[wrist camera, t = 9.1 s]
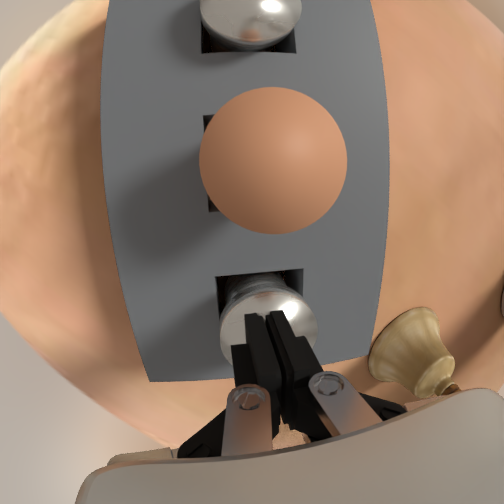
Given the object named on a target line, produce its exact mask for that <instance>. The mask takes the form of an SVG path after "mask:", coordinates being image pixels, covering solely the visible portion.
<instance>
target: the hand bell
mask: <svg viewBox="0 0 504 504" xmlns="http://www.w3.org/2000/svg"><path fill="white" fill-rule="evenodd" d="M439 331H440V326H439V320H438V317H437V315H436V314H435V312H434V311H433V310H431V309H429V308H426V307H419V308H414V309H411V310H409V311H407V312H405V313H403V314H401V315H400V316H398V317H397V318H396V319H394V320H393V321H392V322H391V323H390V324H389V325H388V326H387V327H386V328H385V329H384V330H383V331H382V333H381V334H380V336H379V337H378V338H377V340H376V341H375V343H374V345H373V348H372V350H371V353H370V357H369V362H368V365H369V371H370V373H371V375H372V376H373V377H374V378H376V379H378V380H380V381H384V382H393V381H395V382H398V383H400V384H402V385H403V386H405V387H406V388H407V389H408V390H410V391H411V392H412V393H413V394H414V395H415V396H416V397H418V398H426V397H429V396H431V395H433V394H436V395H437V396H442V395H449V394H452V393H455V392H458V391H461V390H460V389H459V387H458V385H456V384H455V383H454V382H453V380H452V379H451V378H450V377H451V375H452V373H453V371H454V367H455V361H454V358H453V356H452V355H451V354H450V353H449V352H448V350H447V349H446V347H445V346H444V344H443V343H442V341H441V339H440V336H439Z"/></svg>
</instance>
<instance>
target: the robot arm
mask: <svg viewBox="0 0 504 504" xmlns="http://www.w3.org/2000/svg"><path fill="white" fill-rule="evenodd" d="M502 314H503V317H504V290H503V296H502ZM244 320H245V334H246V344H236V345H230V346H231V355H232V363H233V371H234V379H235V386H236V388H234V389H233V390H232V391H231V392H230V393H229V395H228V398H227V406H226V409H225V410H223V411H222V412H221V413H220V414H219V415H218V416H216V417H215V418H214V419H213V420H212V421H210V422H209V423H208V424H207V425H206V426H204V427H203V428H202V429H201V430H199V431H198V432H197V433H196V434H194V435H193V436H192V437H191V438H189V439H188V440H187V441H186V442H184V443H183V444H182V445H181V446H180V447H179V448H177V449H172V450H171V449H170V447H168V448H163V449H157V450H150V451H144V452H135V453H127V454H120V455H116V456H114V457H113V458H111V459H110V461H109V462H108V464H107V466H105V467H102V468H100V469H97V470H95V471H94V472H92V473H91V474H89V475H88V476H87V478H86V479H85V480H84V482H83V484H82V485H81V487H80V490H79V492H78V495H77V498H76V502H75V504H504V398H503V397H502V396H500V395H499V394H498V393H496V392H495V391H493V390H491V389H487V388H473V389H466V390H462V391H458V392H455V393H452V394H449V395H442V396H437V397H433V398H429V399H424V400H419V401H414V402H408V403H405V404H404V406H401V405H399V404H397V403H394V402H390V401H386V400H383V399H379V398H376V397H372V396H369V395H366V394H362V393H359V392H357V391H356V390H355V388H354V387H353V386H352V385H351V384H350V382H349V381H348V380H347V379H346V378H345V377H344V376H343V375H341V374H339V373H337V372H332V371H323V369H322V367H321V365H320V363H319V361H318V359H317V357H316V356H315V354H314V352H313V350H312V348H311V346H310V344H309V342H308V340H307V338H306V337H305V336H298V337H296V336H295V334H294V332H293V330H292V328H291V326H290V324H289V322H288V319H287V317H286V315H285V313H284V311H283V310H276V311H270V315H266V316H265V320H266V325H265V322H264V319H263V316H258V314H257V313H250V314H244ZM280 417H282V420H283V423H284V424H287V423H288V424H289V428H290V430H294V429H295V430H297V431H299V432H302V436H303V439H304V441H305V442H306V444H303V445H298V446H293V447H288V448H283V449H277V450H273V446H272V440H273V438H274V437H275V436H276V435H277V434H278V433H279V425H280Z"/></svg>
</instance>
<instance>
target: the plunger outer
mask: <svg viewBox="0 0 504 504" xmlns="http://www.w3.org/2000/svg"><path fill="white" fill-rule="evenodd" d="M301 11H302V4H301V0H200V12H201V20H202V23H203V25H204V27H205V29H206V30H207V32H208V33H209V34H210V47H211V50H212V52H213V53H221V52H270V50H271V48H272V47H273V45H275V44H277V43H279V42H280V41H282V40H283V39H284V38H286V37H287V36H288V34H289V33H290V32H291V30H292V29H293V27H294V26H295V24H296V23H297V21H298V20H299V18H300V15H301Z"/></svg>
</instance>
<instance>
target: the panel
mask: <svg viewBox="0 0 504 504" xmlns="http://www.w3.org/2000/svg"><path fill="white" fill-rule="evenodd" d="M301 4H302V11H301V15H300V18H299V20H298V21H297V23H296V24H295V26H294V27H293V29H292V30H291V32H290V33H289V34H288V36H287V37H286V38H284V39H283V40H282V41H280V42H279V43H277V44H276V49H277V52H221V53H204V54H203V23H202V20H201V12H200V0H110V1H109V7H108V13H107V20H106V27H105V35H104V45H103V56H102V71H101V101H100V116H101V147H102V162H103V175H104V185H105V194H106V203H107V210H108V217H109V224H110V230H111V237H112V242H113V248H114V253H115V259H116V264H117V268H118V273H119V278H120V282H121V287H122V291H123V295H124V299H125V303H126V307H127V311H128V315H129V318H130V322H131V325H132V329H133V332H134V336H135V339H136V342H137V346H138V349H139V352H140V355H141V358H142V361H143V364H144V367H145V370H146V373H147V376H148V378H149V381H150V382H172V381H198V380H213V379H226V378H234V371H233V365H231V364H230V363H229V362H228V360H227V359H226V358H225V356H224V355H223V352H222V350H221V345H220V329H219V323H220V317H221V314H222V313H221V311H220V302H219V293H218V283H217V276H225V275H237V274H248V273H259V272H270V271H280V270H285V283H286V285H287V287H290V288H292V289H294V290H295V291H297V292H298V293H299V294H300V295H301V296H302V297H303V298H304V300H305V301H306V303H307V304H308V306H309V308H310V309H311V311H312V312H313V314H314V316H315V318H316V321H317V326H318V333H317V339H316V342H315V344H314V346H313V348H312V350H313V352H314V354H315V356H316V357H317V359H318V361H319V363H320V365H325V364H330V363H335V362H339V361H344V360H348V359H353V358H357V357H361V356H365V355H368V354H369V349H370V345H371V340H372V335H373V330H374V325H375V320H376V314H377V308H378V302H379V296H380V289H381V282H382V275H383V267H384V258H385V249H386V238H387V225H388V208H389V173H390V161H389V127H388V111H387V99H386V89H385V80H384V71H383V64H382V57H381V51H380V45H379V39H378V34H377V29H376V24H375V19H374V15H373V10H372V6H371V2H370V0H301ZM263 87H280V88H287V89H291V90H295V91H297V92H300V93H303V94H305V95H307V96H309V97H310V98H312V99H313V100H315V101H316V102H318V103H319V104H320V105H321V106H323V107H324V108H325V109H326V110H327V111H328V113H329V114H330V115H331V116H332V117H333V119H334V120H335V122H336V123H337V125H338V127H339V129H340V131H341V133H342V136H343V139H344V142H345V146H346V152H347V171H346V177H345V181H344V184H343V187H342V190H341V192H340V194H339V196H338V198H337V199H336V201H335V203H334V204H333V205H332V207H331V208H330V209H329V210H328V211H327V212H326V213H325V214H324V215H323V216H322V217H321V218H320V219H318V220H317V221H316V222H314V223H312V224H311V225H309V226H307V227H305V228H303V229H300V230H298V231H294V232H290V233H284V234H264V233H258V232H254V231H251V230H248V229H246V228H243V227H241V226H239V225H237V224H236V223H234V222H232V221H231V220H230V219H228V218H227V217H226V216H225V215H224V214H223V213H221V212H220V211H219V210H218V208H217V207H216V206H215V205H214V203H213V202H212V200H210V197H209V195H208V194H207V192H206V189H205V187H204V185H203V181H202V178H201V174H200V166H199V153H200V146H201V142H202V138H203V135H204V132H205V130H206V126H208V124H209V122H210V121H211V119H212V118H213V116H214V115H215V114H216V113H217V111H218V110H219V109H220V108H221V107H222V106H223V105H225V104H226V103H227V102H228V101H230V100H231V99H233V98H234V97H236V96H238V95H240V94H242V93H244V92H247V91H250V90H253V89H258V88H263Z"/></svg>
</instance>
